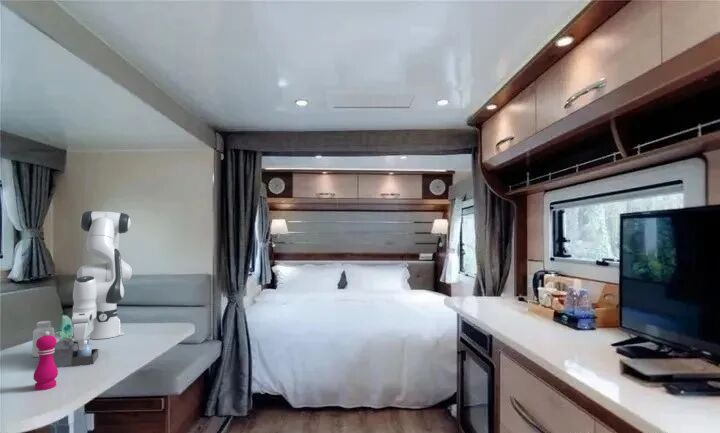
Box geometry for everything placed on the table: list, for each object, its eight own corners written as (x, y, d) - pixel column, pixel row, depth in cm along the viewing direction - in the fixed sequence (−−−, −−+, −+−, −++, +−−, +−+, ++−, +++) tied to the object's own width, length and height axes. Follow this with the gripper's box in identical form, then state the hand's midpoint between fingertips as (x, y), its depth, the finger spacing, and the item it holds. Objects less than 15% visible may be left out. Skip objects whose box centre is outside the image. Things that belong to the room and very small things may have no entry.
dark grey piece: (56, 360, 190) (57, 337, 190) (98, 356, 196) (98, 334, 196) (48, 368, 178) (48, 344, 179) (93, 364, 184) (93, 340, 185)
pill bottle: (42, 358, 194) (43, 324, 195) (27, 357, 196) (28, 323, 196) (58, 353, 202) (58, 320, 202) (43, 352, 204) (44, 319, 204)
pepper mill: (41, 384, 161) (42, 329, 161) (62, 383, 161) (63, 328, 162) (28, 391, 154) (29, 333, 154) (49, 390, 154) (51, 333, 155)
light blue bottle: (79, 360, 190) (79, 339, 190) (92, 359, 192) (92, 338, 192) (76, 363, 186) (76, 342, 186) (90, 362, 187) (90, 341, 188)
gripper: (81, 310, 198) (81, 341, 198) (70, 319, 179) (69, 353, 179) (97, 309, 200) (97, 339, 200) (88, 318, 181) (87, 352, 181)
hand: (84, 346), depth 189 cm, fingers open, 8 cm apart
